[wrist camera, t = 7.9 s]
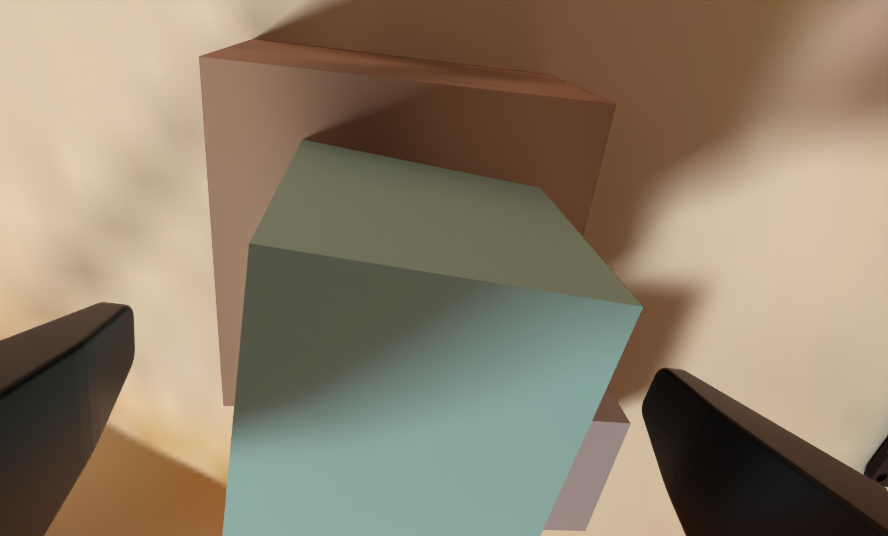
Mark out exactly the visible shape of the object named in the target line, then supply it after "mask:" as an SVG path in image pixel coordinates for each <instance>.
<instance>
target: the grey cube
mask: <svg viewBox="0 0 888 536" xmlns="http://www.w3.org/2000/svg"><path fill="white" fill-rule="evenodd" d="M629 426H630V422H629V420H628V419H627V417H626V415H625V414H624V412H623V410H622V409H621V407H620V405H619V404H618V402H617V400H616V399H615V397H614V395H613V394H612V392H611V390H610V389H609V387H608V386H607V389H606V391H605V393H604V395H603V398H602V400H601V402H600V404H599V406H598V409H597V411H596V413H595V415H594V417H593V420H592V422H591V424H590V426H589V429H588V431H587V433H586V435H585V437H584V440H583V442H582V444H581V446H580V448H579V451H578V453H577V455H576V457H575V460H574V462H573V464H572V466H571V468H570V471H569V473H568V475H567V477H566V479H565V482H564V484H563V486H562V488H561V491H560V493H559V495H558V497H557V499H556V502H555V504H554V506H553V508H552V510H551V513H550V515H549V517H548V519H547V522H546V524H545V526H544V528H543V530H573V531H585V530H586V528H587V526H588V523H589V521H590V518H591V516H592V514H593V511H594V509H595V507H596V504H597V502H598V499H599V497H600V495H601V492H602V490H603V488H604V485H605V483H606V480H607V478H608V476H609V473H610V471H611V468H612V466H613V464H614V461H615V459H616V457H617V454H618V452H619V449H620V447H621V445H622V442H623V440H624V438H625V435H626V433H627V430H628V428H629Z"/></svg>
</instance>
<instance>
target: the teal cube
mask: <svg viewBox="0 0 888 536" xmlns="http://www.w3.org/2000/svg"><path fill="white" fill-rule="evenodd" d="M642 309H643V306H642V305H641V303H640V302H639V301H638V300H637V299H636V298H635V297H634V295H633V294H632V293H631V292H630V291H629V290H628V288H627V287H626V286H625V285H624V284H623V283H622V282H621V280H620V279H619V278H618V277H617V276H616V275H615V273H614V272H613V271H612V270H611V269H610V268H609V267H608V265H607V264H606V263H605V262H604V261H603V260H602V258H601V257H600V256H599V255H598V254H597V253H596V252H595V250H594V249H593V248H592V247H591V246H590V245H589V243H588V242H587V241H586V240H585V239H584V238H583V237H582V235H581V234H580V233H579V232H578V231H577V230H576V228H575V227H574V226H573V225H572V224H571V223H570V222H569V220H568V219H567V218H566V217H565V216H564V215H563V213H562V212H561V211H560V210H559V209H558V208H557V207H556V205H555V204H554V203H553V202H552V201H551V200H550V198H549V197H548V196H547V195H546V194H545V193H544V192H543V190H542V189H541V188H539V187H534V186H529V185H524V184H519V183H514V182H509V181H504V180H499V179H494V178H489V177H484V176H480V175H475V174H470V173H465V172H460V171H455V170H450V169H445V168H440V167H435V166H430V165H425V164H420V163H415V162H411V161H406V160H401V159H396V158H391V157H386V156H381V155H376V154H371V153H366V152H361V151H356V150H351V149H346V148H342V147H337V146H332V145H327V144H322V143H317V142H312V141H307V140H302V141H301V143H300V145H299V147H298V149H297V151H296V153H295V155H294V157H293V159H292V161H291V163H290V165H289V167H288V169H287V170H286V172H285V174H284V176H283V178H282V180H281V182H280V184H279V186H278V188H277V190H276V192H275V194H274V196H273V198H272V200H271V202H270V204H269V205H268V207H267V209H266V211H265V213H264V215H263V217H262V219H261V221H260V223H259V225H258V227H257V229H256V231H255V233H254V235H253V237H252V239H251V240H250V242H249V250H248V261H247V272H246V283H245V294H244V305H243V316H242V327H241V338H240V349H239V360H238V371H237V382H236V393H235V404H234V415H233V426H232V437H231V448H230V460H229V471H228V482H227V493H226V504H225V515H224V526H223V536H540V535H541V533H542V530H543V528H544V526H545V524H546V522H547V519H548V517H549V515H550V513H551V510H552V508H553V506H554V504H555V502H556V499H557V497H558V495H559V493H560V491H561V488H562V486H563V484H564V482H565V479H566V477H567V475H568V473H569V471H570V468H571V466H572V464H573V462H574V460H575V457H576V455H577V453H578V451H579V448H580V446H581V444H582V442H583V440H584V437H585V435H586V433H587V431H588V429H589V426H590V424H591V422H592V420H593V417H594V415H595V413H596V411H597V409H598V406H599V404H600V402H601V400H602V398H603V395H604V393H605V391H606V389H607V386H608V384H609V382H610V380H611V378H612V375H613V373H614V371H615V369H616V367H617V364H618V362H619V360H620V358H621V355H622V353H623V351H624V349H625V347H626V344H627V342H628V340H629V338H630V336H631V333H632V331H633V329H634V327H635V324H636V322H637V320H638V318H639V316H640V313H641V311H642Z"/></svg>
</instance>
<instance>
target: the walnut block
mask: <svg viewBox="0 0 888 536" xmlns="http://www.w3.org/2000/svg"><path fill="white" fill-rule="evenodd" d="M199 63H200V77H201V91H202V105H203V120H204V134H205V148H206V162H207V177H208V191H209V205H210V219H211V234H212V248H213V262H214V276H215V291H216V305H217V319H218V333H219V348H220V362H221V376H222V390H223V404H224V406H234V404H235V393H236V382H237V371H238V360H239V349H240V338H241V327H242V316H243V305H244V294H245V283H246V272H247V261H248V250H249V242H250V240H251V239H252V237H253V235H254V233H255V231H256V229H257V227H258V225H259V223H260V221H261V219H262V217H263V215H264V213H265V211H266V209H267V207H268V205H269V204H270V202H271V200H272V198H273V196H274V194H275V192H276V190H277V188H278V186H279V184H280V182H281V180H282V178H283V176H284V174H285V172H286V170H287V169H288V167H289V165H290V163H291V161H292V159H293V157H294V155H295V153H296V151H297V149H298V147H299V145H300V143H301V141H302V140H307V141H312V142H317V143H322V144H327V145H332V146H337V147H342V148H346V149H351V150H356V151H361V152H366V153H371V154H376V155H381V156H386V157H391V158H396V159H401V160H406V161H411V162H415V163H420V164H425V165H430V166H435V167H440V168H445V169H450V170H455V171H460V172H465V173H470V174H475V175H480V176H484V177H489V178H494V179H499V180H504V181H509V182H514V183H519V184H524V185H529V186H534V187H539V188H541V189H542V190H543V192H544V193H545V194H546V195H547V196H548V197H549V198H550V200H551V201H552V202H553V203H554V204H555V205H556V207H557V208H558V209H559V210H560V211H561V212H562V213H563V215H564V216H565V217H566V218H567V219H568V220H569V222H570V223H571V224H572V225H573V226H574V227H575V228H576V230H577V231H578V232H579V233H580V234H581V235H582V236H583V232H584V228H585V224H586V220H587V216H588V212H589V208H590V204H591V200H592V196H593V192H594V188H595V184H596V180H597V176H598V172H599V168H600V164H601V160H602V156H603V152H604V148H605V144H606V141H607V137H608V133H609V129H610V125H611V121H612V117H613V113H614V109H615V105H616V104H615V103H613V102H610V101H608V100H606V99H603V98H601V97H599V96H596V95H594V94H592V93H590V92H587V91H585V90H583V89H580V88H578V87H576V86H573V85H571V84H569V83H567V82H564V81H562V80H560V79H557V78H555V77H553V76H550V75H547V74H539V73H531V72H522V71H514V70H506V69H497V68H489V67H481V66H472V65H464V64H456V63H448V62H439V61H431V60H423V59H414V58H406V57H398V56H389V55H381V54H373V53H364V52H356V51H348V50H339V49H331V48H323V47H314V46H306V45H298V44H290V43H281V42H273V41H265V40H256V39H251V40H248V41H245V42H242V43H239V44H236V45H233V46H230V47H227V48H224V49H221V50H218V51H215V52H212V53H208V54H205V55H202V56H199Z"/></svg>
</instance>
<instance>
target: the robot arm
mask: <svg viewBox="0 0 888 536" xmlns="http://www.w3.org/2000/svg"><path fill="white" fill-rule="evenodd" d="M134 353H135V342H134V315H133V311H132V308H131V307H130V306H128V305H124V304H115V303H107V302H101V303H97V304H95V305H92V306H90V307H87V308H84V309H82V310H79V311H77V312H74V313H71V314H69V315H66V316H63V317H61V318H58V319H56V320H53V321H50V322H48V323H45V324H43V325H40V326H37V327H35V328H32V329H29V330H27V331H24V332H22V333H19V334H16V335H14V336H11V337H9V338H6V339H3V340H1V341H0V536H44V535H45V534H46V532H47V530H48V528H49V527H50V525H51V524H52V522H53V520H54V518H55V517H56V515H57V513H58V512H59V510H60V508H61V507H62V505H63V503H64V501H65V500H66V498H67V496H68V495H69V493H70V491H71V490H72V488H73V486H74V485H75V483H76V481H77V479H78V478H79V476H80V474H81V473H82V471H83V469H84V468H85V466H86V464H87V462H88V461H89V459H90V457H91V455H92V453H93V451H94V450H95V447H96V445H97V443H98V441H99V439H100V437H101V434H102V432H103V430H104V428H105V425H106V423H107V421H108V419H109V416H110V414H111V412H112V409H113V407H114V405H115V403H116V400H117V398H118V396H119V393H120V391H121V389H122V387H123V384H124V382H125V380H126V377H127V375H128V373H129V371H130V368H131V366H132V363H133V359H134ZM642 415H643V419H644V422H645V425H646V428H647V431H648V434H649V437H650V441H651V444H652V447H653V450H654V453H655V456H656V459H657V462H658V466H659V469H660V472H661V475H662V478H663V481H664V484H665V487H666V490H667V492H668V495H669V497H670V500H671V502H672V504H673V507H674V509H675V511H676V514H677V516H678V518H679V521H680V523H681V525H682V528H683V530H684V532H685V535H686V536H888V491H887V489H886V488H885V487H888V440H887V441H886V442H885V444H884V445H883V446H882V448H881V449H880V451H879V452H878V453H877V455H876V456H875V457H874V459H873V460H872V462H871V463H870V464H869V466H868V467H867V468H866V470H865V472H864V475H863V474H861V473H859V472H858V471H856V470H854V469H852V468H851V467H849V466H847V465H846V464H844V463H842V462H840V461H839V460H837V459H835V458H834V457H832V456H830V455H828V454H827V453H825V452H823V451H822V450H820V449H818V448H816V447H815V446H813V445H811V444H810V443H808V442H806V441H804V440H803V439H801V438H799V437H798V436H796V435H794V434H792V433H791V432H789V431H787V430H786V429H784V428H782V427H781V426H779V425H777V424H775V423H774V422H772V421H770V420H769V419H767V418H765V417H763V416H762V415H760V414H758V413H757V412H755V411H753V410H751V409H750V408H748V407H746V406H745V405H743V404H741V403H739V402H738V401H736V400H734V399H733V398H731V397H729V396H727V395H726V394H724V393H722V392H721V391H719V390H717V389H715V388H714V387H712V386H710V385H709V384H707V383H705V382H703V381H702V380H700V379H698V378H697V377H695V376H693V375H691V374H690V373H688V372H686V371H684V370H681V369H673V368H662V369H660V370H659V371H658V372H657V373H656V375H655V377H654V379H653V381H652V383H651V386H650V388H649V390H648V392H647V394H646V396H645V399H644V401H643V404H642ZM883 486H884V487H883Z"/></svg>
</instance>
